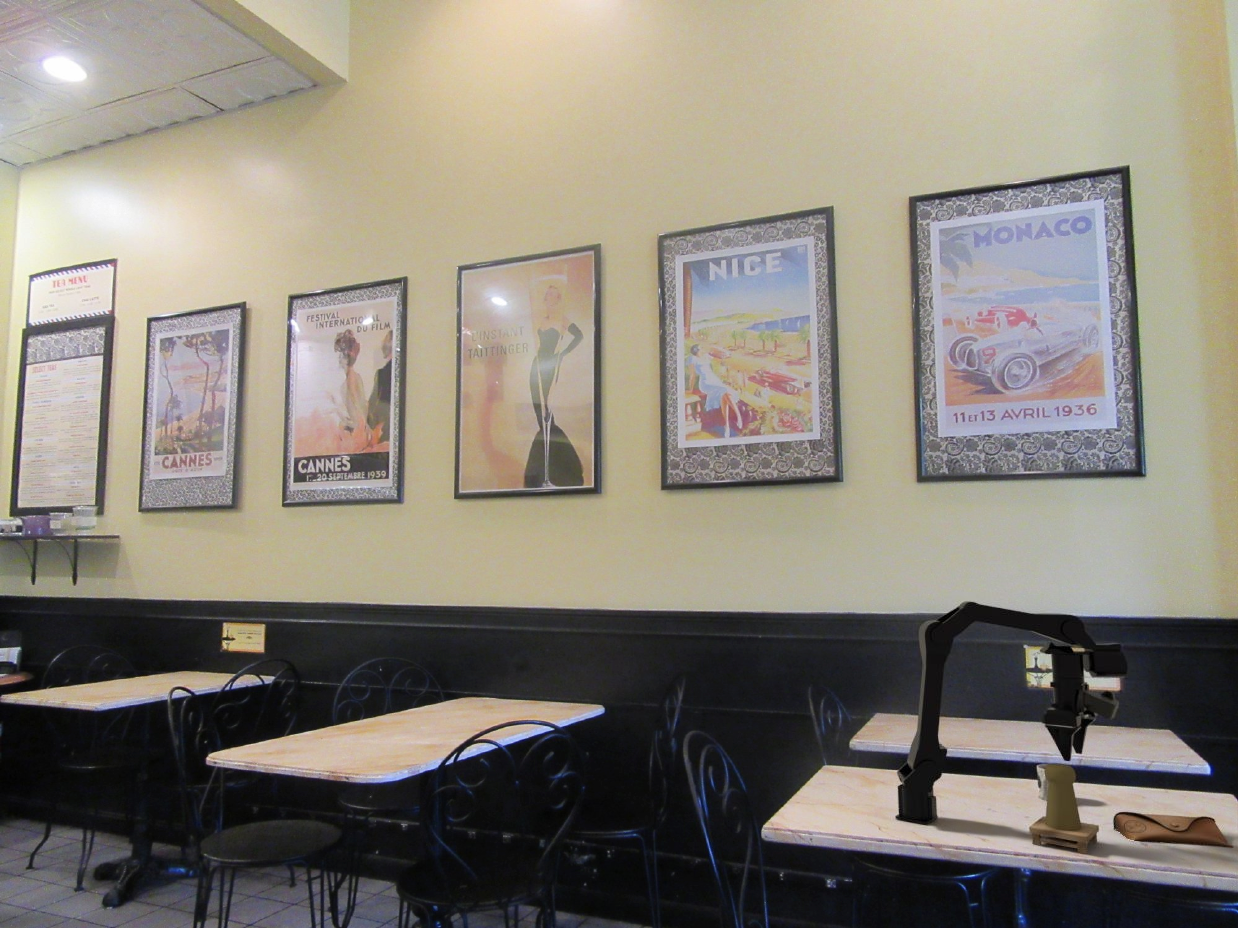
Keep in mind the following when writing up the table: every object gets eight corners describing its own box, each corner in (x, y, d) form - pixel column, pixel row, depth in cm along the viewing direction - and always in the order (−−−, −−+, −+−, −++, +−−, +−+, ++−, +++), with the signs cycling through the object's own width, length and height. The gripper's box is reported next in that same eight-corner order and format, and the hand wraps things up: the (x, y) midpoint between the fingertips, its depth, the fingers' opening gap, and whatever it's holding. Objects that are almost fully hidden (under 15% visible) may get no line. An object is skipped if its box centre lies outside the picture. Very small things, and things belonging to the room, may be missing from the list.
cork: (1086, 831, 156) (1081, 768, 158) (1049, 829, 158) (1045, 766, 159) (1076, 822, 162) (1072, 761, 164) (1041, 820, 164) (1037, 760, 165)
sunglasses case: (1128, 841, 160) (1120, 804, 164) (1118, 851, 166) (1110, 815, 170) (1238, 847, 157) (1226, 809, 161) (1223, 857, 162) (1212, 820, 166)
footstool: (1030, 843, 159) (1029, 826, 159) (1044, 832, 166) (1043, 815, 167) (1087, 854, 153) (1086, 836, 153) (1099, 842, 160) (1098, 825, 161)
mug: (1044, 793, 196) (1042, 762, 197) (1076, 798, 191) (1074, 767, 192) (1028, 801, 189) (1026, 769, 190) (1061, 807, 184) (1059, 774, 185)
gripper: (1102, 684, 162) (1108, 771, 160) (1123, 675, 176) (1128, 755, 174) (1038, 680, 169) (1043, 762, 167) (1063, 671, 183) (1068, 748, 181)
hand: (1073, 757), depth 172 cm, fingers open, 9 cm apart
